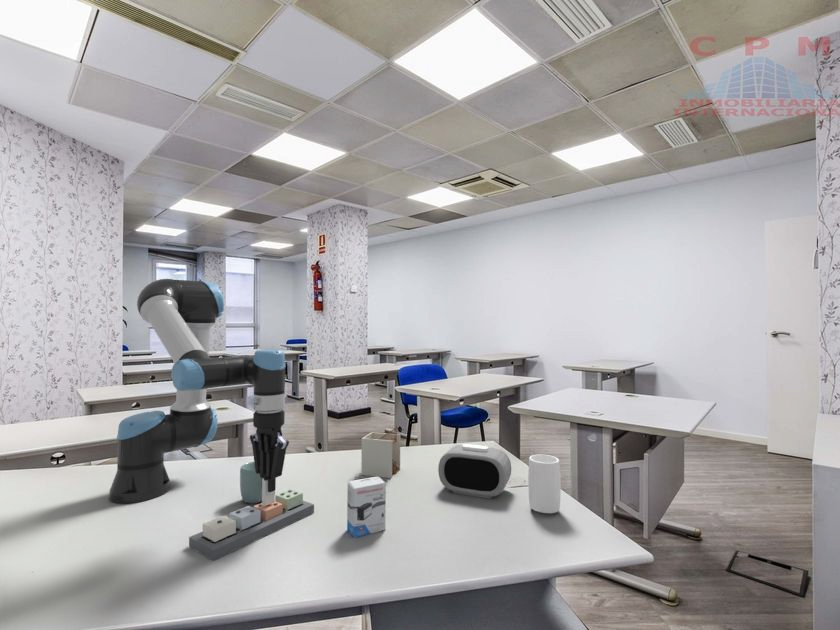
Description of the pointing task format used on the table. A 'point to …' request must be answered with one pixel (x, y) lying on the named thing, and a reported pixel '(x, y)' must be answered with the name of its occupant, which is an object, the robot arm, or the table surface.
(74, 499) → the table surface
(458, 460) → the alarm clock
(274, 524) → the board
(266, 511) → the tile
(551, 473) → the cup
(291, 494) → the tile
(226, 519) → the tile
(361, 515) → the ink box
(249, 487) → the cup
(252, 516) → the tile
